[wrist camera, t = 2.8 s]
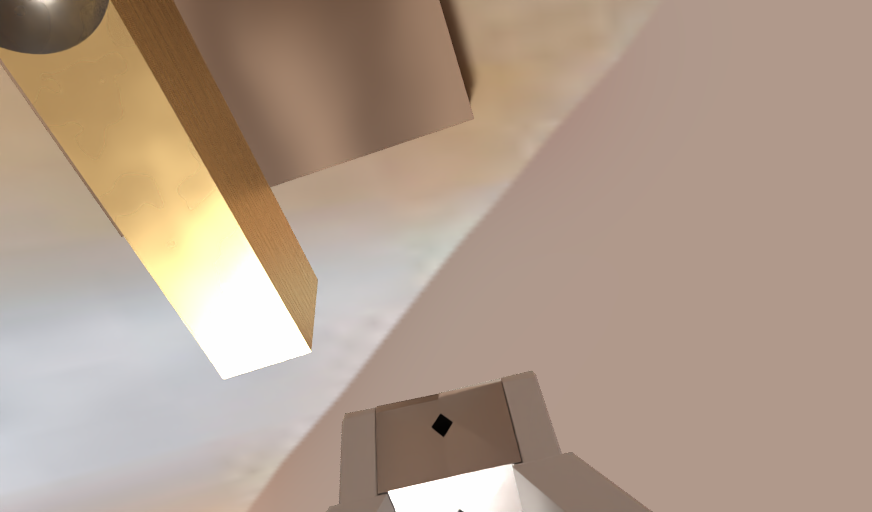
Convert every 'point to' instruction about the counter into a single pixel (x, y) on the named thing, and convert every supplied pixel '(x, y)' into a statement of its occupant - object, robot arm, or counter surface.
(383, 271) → the counter surface
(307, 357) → the counter surface
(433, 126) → the lock plate
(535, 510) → the robot arm
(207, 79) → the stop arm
